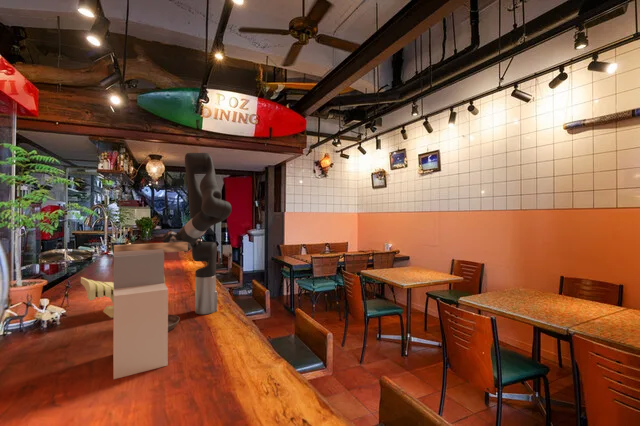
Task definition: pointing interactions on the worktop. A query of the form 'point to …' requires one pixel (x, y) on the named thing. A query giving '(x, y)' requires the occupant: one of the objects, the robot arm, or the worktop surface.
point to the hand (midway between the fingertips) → (174, 248)
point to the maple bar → (153, 247)
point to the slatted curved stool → (100, 292)
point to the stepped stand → (139, 312)
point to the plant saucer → (172, 321)
